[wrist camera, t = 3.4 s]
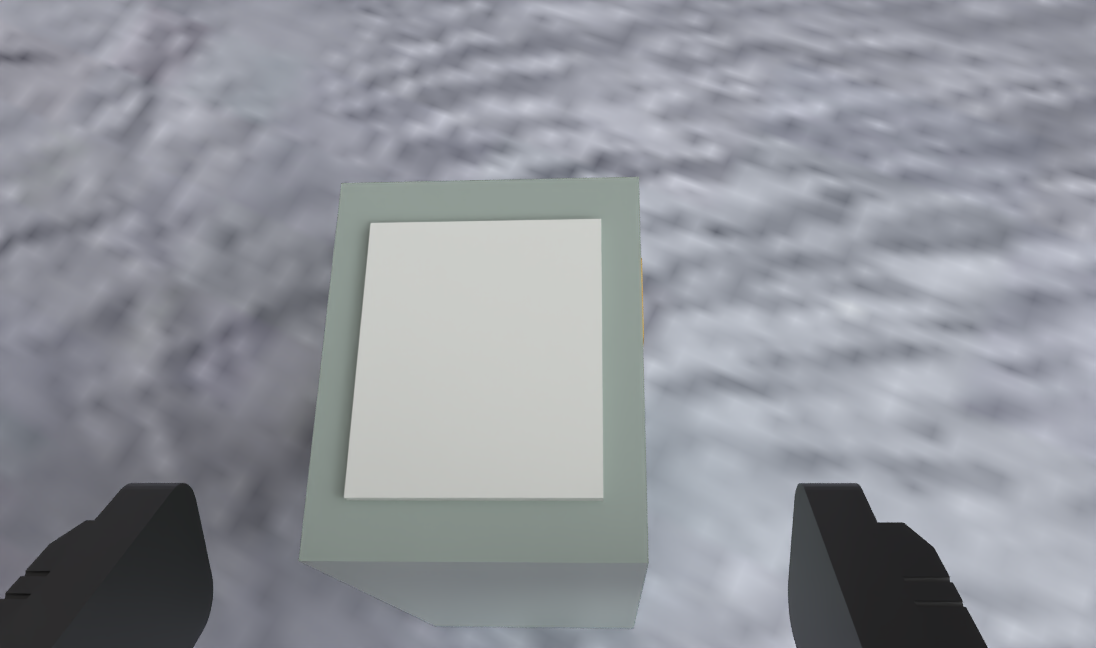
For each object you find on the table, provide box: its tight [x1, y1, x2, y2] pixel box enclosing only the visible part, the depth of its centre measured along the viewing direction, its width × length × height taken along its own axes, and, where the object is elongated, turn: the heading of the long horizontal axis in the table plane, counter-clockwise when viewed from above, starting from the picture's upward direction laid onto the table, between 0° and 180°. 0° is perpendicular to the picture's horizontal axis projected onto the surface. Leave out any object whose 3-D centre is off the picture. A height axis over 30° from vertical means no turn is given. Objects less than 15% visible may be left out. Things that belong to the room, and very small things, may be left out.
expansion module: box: [299, 177, 648, 629], centre depth 16 cm, size 4×5×9 cm
